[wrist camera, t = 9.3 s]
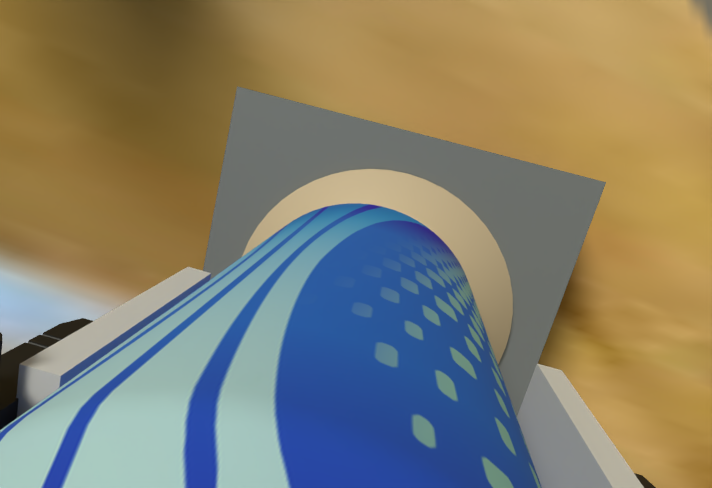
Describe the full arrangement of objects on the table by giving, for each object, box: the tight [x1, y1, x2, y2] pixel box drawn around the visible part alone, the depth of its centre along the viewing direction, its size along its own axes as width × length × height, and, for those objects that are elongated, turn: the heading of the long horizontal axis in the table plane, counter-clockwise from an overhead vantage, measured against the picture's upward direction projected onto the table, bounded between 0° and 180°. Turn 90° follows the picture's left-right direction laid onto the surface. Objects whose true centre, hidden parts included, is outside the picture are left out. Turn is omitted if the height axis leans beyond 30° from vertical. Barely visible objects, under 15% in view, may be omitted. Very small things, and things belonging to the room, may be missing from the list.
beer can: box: [0, 203, 542, 488], centre depth 11 cm, size 8×8×16 cm
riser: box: [203, 87, 606, 417], centre depth 21 cm, size 14×14×5 cm
